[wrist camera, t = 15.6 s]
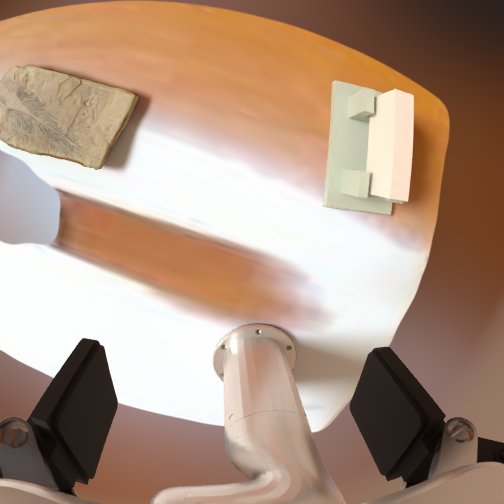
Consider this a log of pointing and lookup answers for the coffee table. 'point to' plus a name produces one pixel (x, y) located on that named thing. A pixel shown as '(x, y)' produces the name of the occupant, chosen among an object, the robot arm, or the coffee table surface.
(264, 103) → the coffee table surface
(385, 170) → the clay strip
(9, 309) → the coffee table surface
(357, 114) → the grey mounting plate
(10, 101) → the stone slab
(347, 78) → the coffee table surface
